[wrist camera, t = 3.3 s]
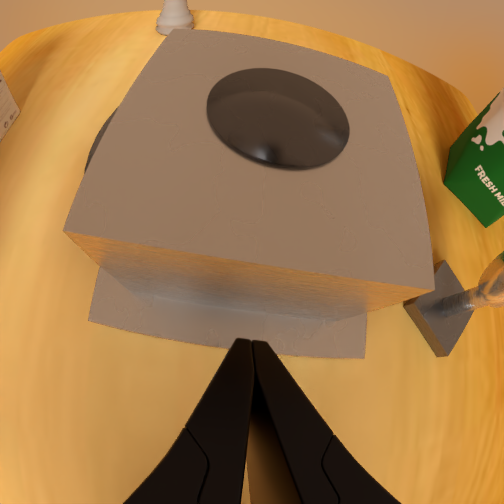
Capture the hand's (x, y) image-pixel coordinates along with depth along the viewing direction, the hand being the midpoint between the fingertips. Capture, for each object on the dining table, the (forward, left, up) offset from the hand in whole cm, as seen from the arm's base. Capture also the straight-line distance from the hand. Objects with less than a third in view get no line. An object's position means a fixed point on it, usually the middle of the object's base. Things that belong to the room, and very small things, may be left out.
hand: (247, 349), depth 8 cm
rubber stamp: (+13, -8, -8) cm, 17 cm away
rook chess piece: (+14, +30, -8) cm, 34 cm away
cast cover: (+5, +5, -8) cm, 11 cm away
